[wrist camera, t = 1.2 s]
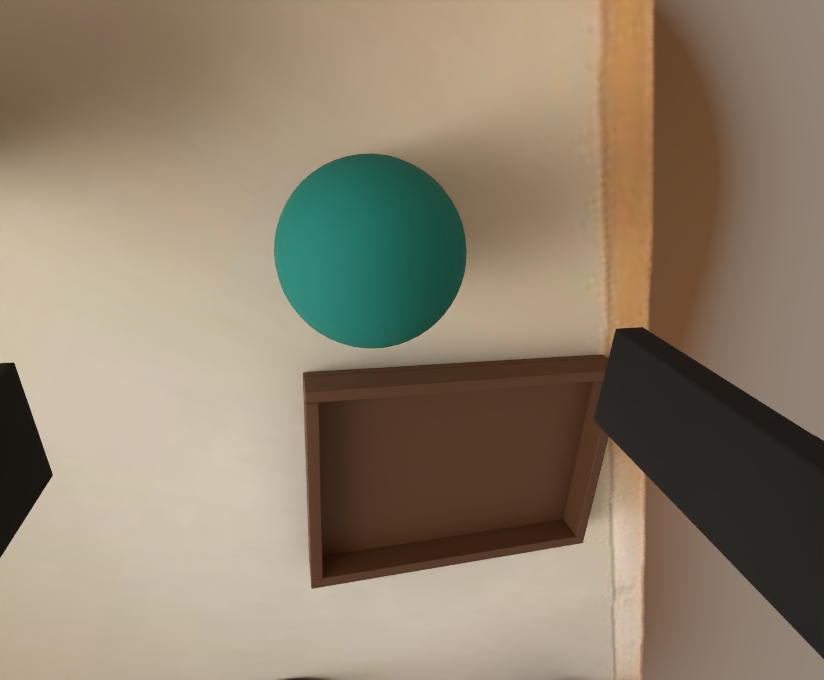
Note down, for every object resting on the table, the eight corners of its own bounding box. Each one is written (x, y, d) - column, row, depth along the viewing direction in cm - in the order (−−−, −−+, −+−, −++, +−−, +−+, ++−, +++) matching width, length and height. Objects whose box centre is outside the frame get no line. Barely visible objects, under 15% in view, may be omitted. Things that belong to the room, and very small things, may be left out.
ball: (429, 310, 27) (484, 374, 20) (279, 314, 25) (279, 388, 18) (440, 155, 24) (510, 163, 17) (270, 146, 22) (266, 151, 15)
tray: (566, 520, 42) (583, 543, 39) (309, 560, 36) (311, 589, 34) (602, 354, 36) (625, 369, 33) (302, 372, 30) (304, 391, 28)
